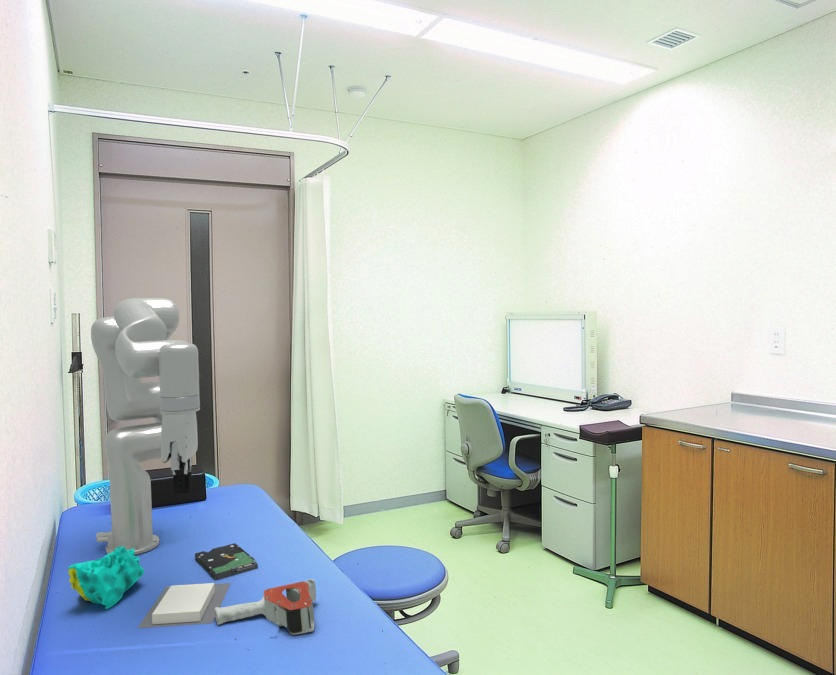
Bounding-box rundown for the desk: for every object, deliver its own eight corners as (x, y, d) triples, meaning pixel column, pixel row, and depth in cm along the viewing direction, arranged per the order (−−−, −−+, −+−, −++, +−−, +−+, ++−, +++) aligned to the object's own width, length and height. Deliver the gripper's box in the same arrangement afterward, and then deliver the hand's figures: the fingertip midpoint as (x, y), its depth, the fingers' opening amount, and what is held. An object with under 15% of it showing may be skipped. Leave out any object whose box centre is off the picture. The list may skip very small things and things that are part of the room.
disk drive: (194, 564, 146) (215, 585, 134) (193, 553, 146) (215, 573, 134) (235, 553, 152) (259, 572, 141) (235, 542, 152) (258, 560, 140)
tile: (171, 595, 128) (152, 624, 116) (171, 585, 128) (151, 614, 116) (214, 592, 129) (200, 621, 117) (214, 583, 129) (199, 611, 117)
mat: (137, 631, 115) (137, 628, 115) (165, 589, 132) (165, 586, 132) (212, 626, 116) (212, 623, 116) (230, 585, 133) (230, 582, 133)
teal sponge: (56, 565, 129) (114, 524, 136) (88, 608, 131) (143, 565, 139) (62, 577, 117) (126, 531, 124) (97, 624, 119) (158, 576, 126)
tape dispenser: (207, 631, 117) (281, 655, 106) (204, 604, 117) (278, 626, 106) (273, 590, 132) (344, 608, 121) (271, 566, 132) (341, 582, 121)
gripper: (172, 398, 129) (175, 481, 130) (148, 411, 114) (151, 505, 115) (208, 397, 130) (210, 480, 131) (188, 410, 115) (191, 503, 116)
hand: (182, 492), depth 123 cm, fingers closed
